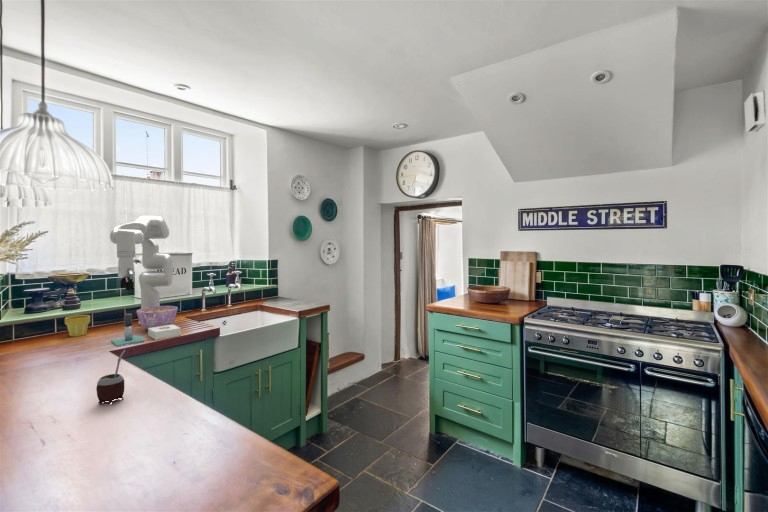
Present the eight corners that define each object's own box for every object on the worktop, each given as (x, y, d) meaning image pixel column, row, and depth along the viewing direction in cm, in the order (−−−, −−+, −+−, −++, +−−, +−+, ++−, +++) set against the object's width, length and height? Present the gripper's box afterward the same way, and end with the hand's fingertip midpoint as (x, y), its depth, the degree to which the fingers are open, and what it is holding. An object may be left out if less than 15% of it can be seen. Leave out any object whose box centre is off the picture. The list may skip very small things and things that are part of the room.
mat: (111, 341, 180) (111, 340, 180) (139, 337, 189) (139, 335, 189) (117, 346, 172) (116, 344, 172) (146, 341, 181) (146, 339, 181)
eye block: (148, 335, 192) (148, 328, 191) (173, 331, 201) (172, 324, 200) (155, 339, 184) (155, 332, 183) (180, 335, 192) (180, 328, 192)
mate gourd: (95, 408, 109) (94, 360, 108) (98, 399, 116) (97, 353, 115) (126, 402, 113) (124, 355, 113) (127, 393, 120) (125, 349, 119)
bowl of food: (146, 335, 192) (146, 314, 191) (130, 330, 203) (129, 309, 202) (184, 328, 208) (184, 308, 208) (167, 323, 219) (167, 304, 219)
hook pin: (124, 339, 180) (123, 314, 180) (131, 338, 183) (131, 313, 182) (125, 341, 178) (125, 315, 177) (133, 339, 180) (132, 314, 180)
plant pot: (91, 331, 199) (91, 314, 199) (89, 335, 190) (88, 317, 190) (67, 334, 193) (66, 316, 193) (63, 338, 185) (62, 319, 184)
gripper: (112, 254, 182) (113, 287, 183) (121, 255, 170) (122, 291, 171) (130, 253, 187) (131, 286, 188) (140, 255, 176) (141, 289, 177)
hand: (127, 288), depth 180 cm, fingers open, 9 cm apart
